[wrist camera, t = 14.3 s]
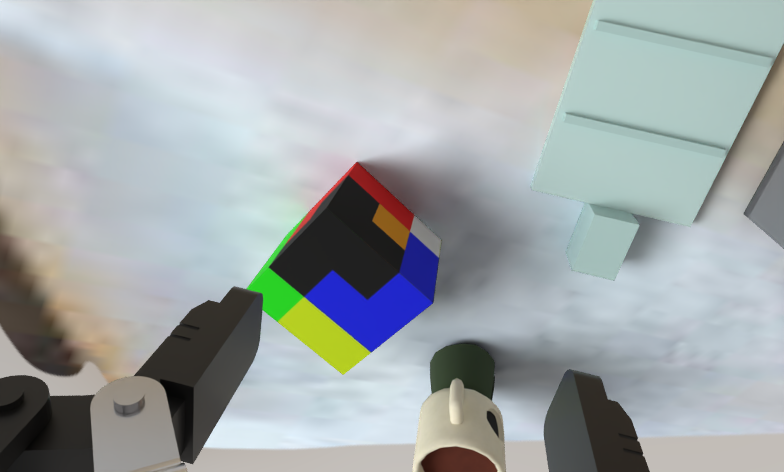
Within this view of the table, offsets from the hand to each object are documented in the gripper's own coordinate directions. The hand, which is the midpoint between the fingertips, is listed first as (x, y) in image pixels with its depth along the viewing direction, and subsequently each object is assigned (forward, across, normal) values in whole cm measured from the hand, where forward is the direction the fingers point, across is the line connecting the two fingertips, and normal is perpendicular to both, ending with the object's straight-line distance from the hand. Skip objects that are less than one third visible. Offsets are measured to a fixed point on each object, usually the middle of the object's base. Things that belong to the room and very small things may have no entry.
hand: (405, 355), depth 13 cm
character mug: (+30, -7, +24) cm, 39 cm away
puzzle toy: (+30, +5, +13) cm, 33 cm away
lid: (+30, -14, -2) cm, 33 cm away
